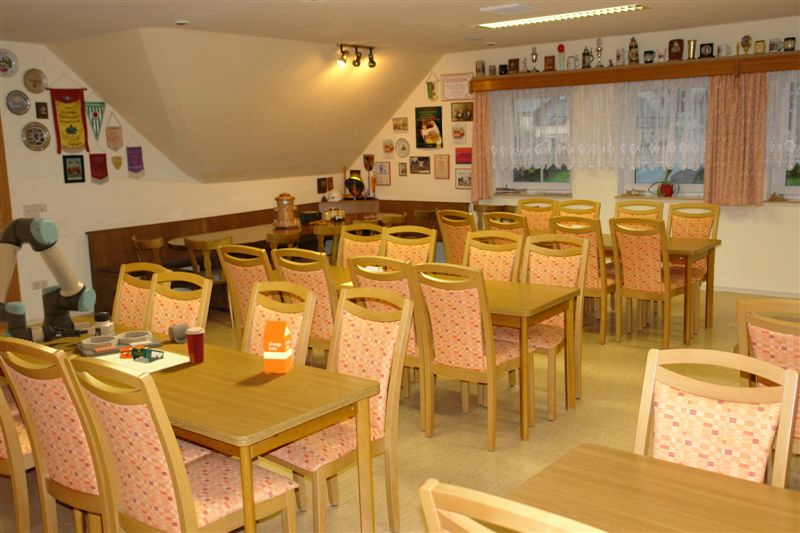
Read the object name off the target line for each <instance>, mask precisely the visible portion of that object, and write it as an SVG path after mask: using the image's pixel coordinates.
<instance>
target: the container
mask: <svg viewBox="0 0 800 533" xmlns="http://www.w3.org/2000/svg"><path fill="white" fill-rule="evenodd" d="M93 317H94V318H93V320H94V324H93V325H91V327H90V328H93V327H95V332H96V333H94V334H91V337H96V336H116V335H115V325H114V322H110V314H109V312H104V311H103V312H97V313H95V314H93Z"/></svg>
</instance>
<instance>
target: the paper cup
mask: <svg viewBox="0 0 800 533" xmlns="http://www.w3.org/2000/svg"><path fill="white" fill-rule="evenodd" d="M188 328H189V327H188ZM185 333H186V336H187V342H186V343H187V351H188V358H189V363H190V364H193V365H199V364H202V363H204V362H205V333H206V332H205V329H204V328H203V327H201V326H198V327H197V326H196V327H195V326H194V327H190V328H189V329H187V330H186V332H185Z"/></svg>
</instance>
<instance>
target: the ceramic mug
mask: <svg viewBox="0 0 800 533" xmlns="http://www.w3.org/2000/svg"><path fill="white" fill-rule="evenodd" d="M187 329H189V326H188V324H187V322H184V323H183V322H182V323H181V324H180V323H179V324H175V325H174V324H173V325H171V326H169V327H168V330H167V331H168V336H169V340H170V341H171V342H176V343H177V344H184V343H185V344H186V343H187V336H186V333H185V332H186V330H187Z"/></svg>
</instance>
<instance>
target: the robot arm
mask: <svg viewBox="0 0 800 533" xmlns="http://www.w3.org/2000/svg"><path fill="white" fill-rule="evenodd" d="M58 232H59V228H58V226H57V225H56V223H55V222H54V221H53V220H52V219H49V218H45V217H44V218H43V217H35V218H34V217H31V218H30V217H27V218H25V217H18V218H16V219H13V220H11V221H9V223H8V224H7V225H6V226H5V228H4V229H3V231H2V232H1V235H0V324H7V325H6V326H7V329H6V330H3V331H2V337H14V338H19V339H24V340H28V341H32V342H36V343H37V344H42V343H50V342H51V343H52V342H53V340H54V338H53V337H56V339H61V338H81V336H87V335H92V334H94V333H96V332H95V327H93V328H91V327H90V322H89V321H87V322H78V323H75V322H74V321H73V318H72V316H71V313H70V312H78V313H79V312H80V313H83V312H89V311H91V310H92V309H93V308H94V306H95V304H96V300H97V299H96V298H97V295H96V291H95V289H93V288H92V287H87V285H86V284H85V282H84V281H83V280H81V279H78V277H77V275H76V274H75V273H74V271H73V269H72V267H71V265H70V264H69V262H68V260H67V259H66V257H65V255H64V254H63V252H62V250H61V248H60V247H59V245H58V241H59V240H58V238H59V233H58ZM24 244H27V245H29V246H30V248H31V250H32V251H33V252H35V253H38V254H39V256H40V257H41V258H42V260H43V262H44V263H45V265H46V267H47V269H48V270H49V272H50V273H51V275H52V276H53V278H54V280H55V281H56V283H57V284H53V285H47V286H44V287H43V288H42V289H41V298H42V309H43V317H44V318H43V321H42V324H41V326H40V325H38V326H30V327H27V316H26V309H25V303H24V302H22V301H12V302H7V298H8V294H9V290H10V287H11V282H12V278H13V274H14V271H15V266H16V262H17V258H18V254H19V252H20V251H22V247H23V245H24ZM6 302H7V303H6Z"/></svg>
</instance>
